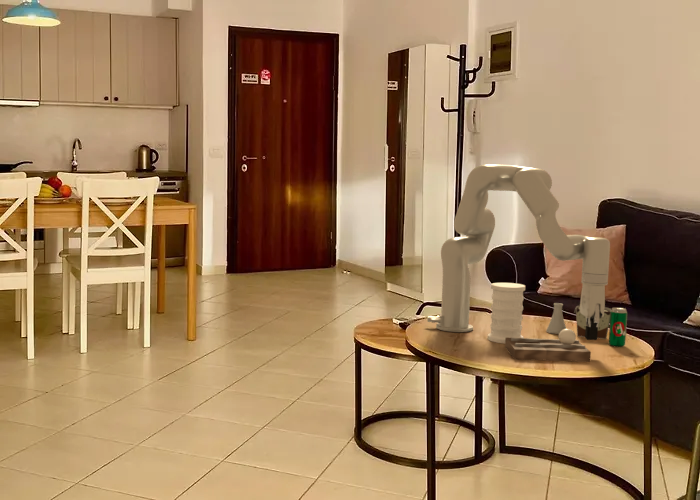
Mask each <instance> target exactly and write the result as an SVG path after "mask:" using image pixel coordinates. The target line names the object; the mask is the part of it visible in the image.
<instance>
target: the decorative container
mask: <svg viewBox="0 0 700 500" xmlns="http://www.w3.org/2000/svg"><path fill="white" fill-rule="evenodd" d="M490 289H492V295H491V300H492V303H491V314H490V319H491V322H490V326H489V327H490V332H489V333H488V334H487V340H488V341H490V342H494V343H499V344H505V338H525V337H524V336H523V335H522V330H523V325H522V321H523V320H524V319H523V317H524V316H523V310H524V306H523V302H524V299H525V298H524V292H525V291H526V285H525V284H522V283H516V282H515V283H514V282H493V283H491V286H490Z"/></svg>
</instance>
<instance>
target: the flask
mask: <svg viewBox="0 0 700 500" xmlns="http://www.w3.org/2000/svg"><path fill="white" fill-rule="evenodd" d="M563 306H564V304H563V303H559V302H554V303H553V311H552V316H551V318H550V322H549V323H548V325H547V328H546V331H545V332H546V333H549V334H554V335H555V334H556V335H559V333H560V332H561V331H562V330H563V329H567V326H566V323H565V319H564V316H563Z"/></svg>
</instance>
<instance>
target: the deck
mask: <svg viewBox="0 0 700 500" xmlns="http://www.w3.org/2000/svg"><path fill="white" fill-rule="evenodd" d="M504 348H505V349H506V351H507V352H508V353H509V354H510V356H511V357H512V358H513V360H522V361H523V360H525V361H526V360H527V361H550V362H551V361H555V362H556V361H557V362H582V363H590V362H591V353H592V352H591V350H589V349H588V348H587V347H586V345H584V344H582V343H581V342H580V340H578V339H575V342H574V343H573V344H571V345H564V344H562V343H561V342H560V341H559V338H558V339H556V338H555V339H554V338H530V337H529V338H528V337H526V338H525V337H524V338H505V343H504Z"/></svg>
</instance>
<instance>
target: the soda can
mask: <svg viewBox="0 0 700 500" xmlns="http://www.w3.org/2000/svg"><path fill="white" fill-rule="evenodd" d="M627 322H628V311H627V309H626V307H625V308H624V307H612V308H611V313H610V322H609V328H608V331H609V332H608V345H609V346H612V347H614V346H615V347H616V348H623V347H625V345H626V338H627V337H626V336H627V324H628V323H627ZM615 347H614V348H615Z"/></svg>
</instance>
